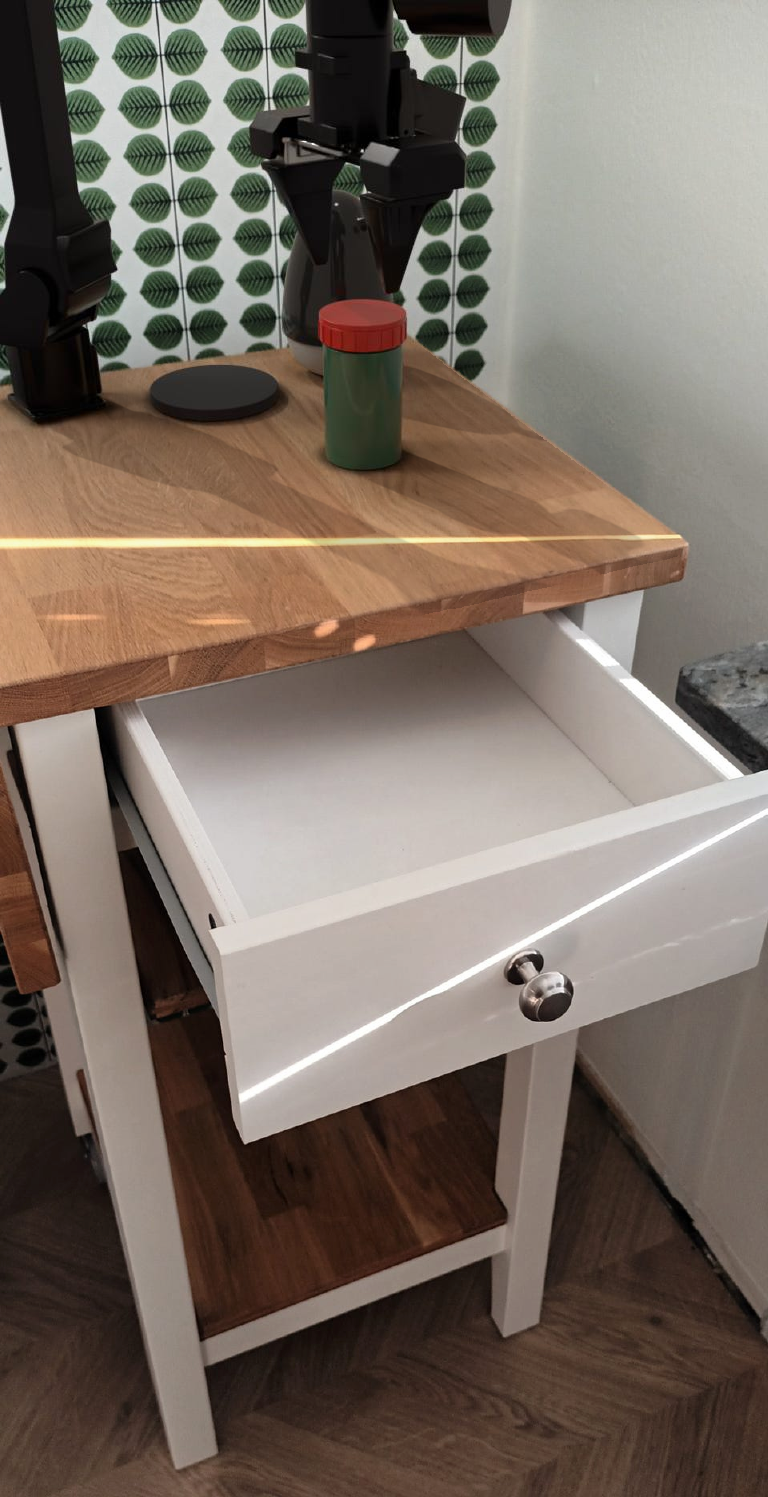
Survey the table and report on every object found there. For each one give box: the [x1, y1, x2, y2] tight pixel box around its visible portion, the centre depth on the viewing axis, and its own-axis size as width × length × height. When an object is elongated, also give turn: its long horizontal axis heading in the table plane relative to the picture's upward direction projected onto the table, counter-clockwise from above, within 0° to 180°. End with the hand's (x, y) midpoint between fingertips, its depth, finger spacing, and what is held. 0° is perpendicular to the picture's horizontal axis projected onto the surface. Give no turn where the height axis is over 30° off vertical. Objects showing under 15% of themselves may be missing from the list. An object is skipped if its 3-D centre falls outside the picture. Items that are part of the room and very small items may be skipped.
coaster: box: [149, 364, 280, 422], centre depth 108 cm, size 11×11×1 cm
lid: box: [318, 299, 408, 352], centre depth 92 cm, size 6×6×2 cm
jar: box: [323, 343, 404, 471], centre depth 95 cm, size 6×6×11 cm
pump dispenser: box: [281, 189, 395, 377], centre depth 110 cm, size 10×10×15 cm
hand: (355, 278), depth 91 cm, fingers open, 9 cm apart
